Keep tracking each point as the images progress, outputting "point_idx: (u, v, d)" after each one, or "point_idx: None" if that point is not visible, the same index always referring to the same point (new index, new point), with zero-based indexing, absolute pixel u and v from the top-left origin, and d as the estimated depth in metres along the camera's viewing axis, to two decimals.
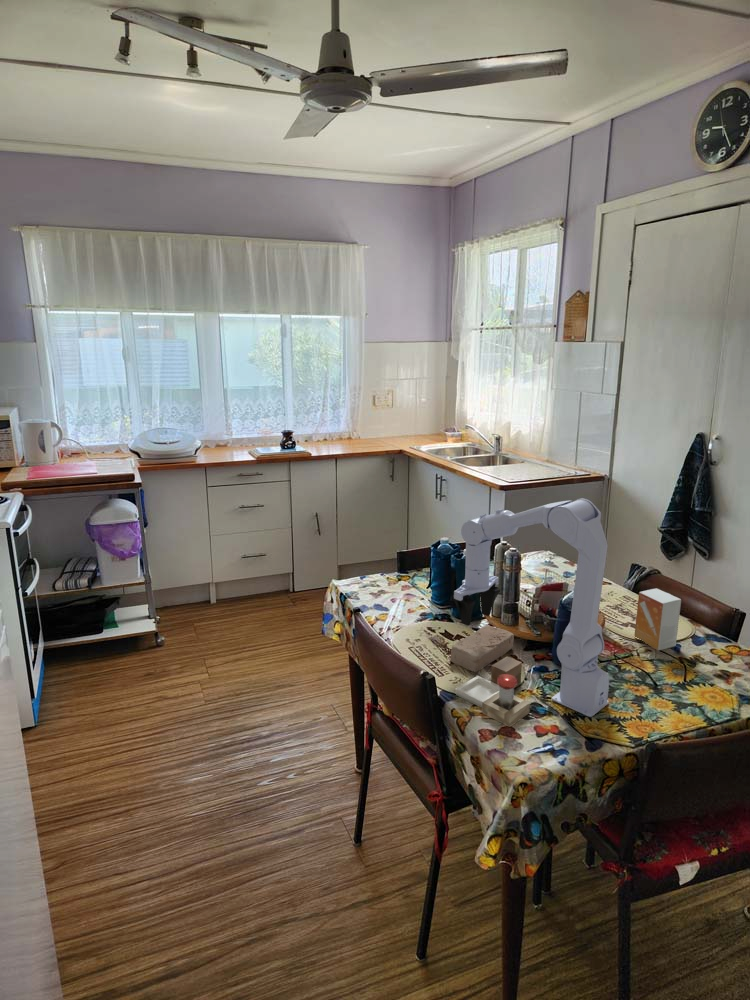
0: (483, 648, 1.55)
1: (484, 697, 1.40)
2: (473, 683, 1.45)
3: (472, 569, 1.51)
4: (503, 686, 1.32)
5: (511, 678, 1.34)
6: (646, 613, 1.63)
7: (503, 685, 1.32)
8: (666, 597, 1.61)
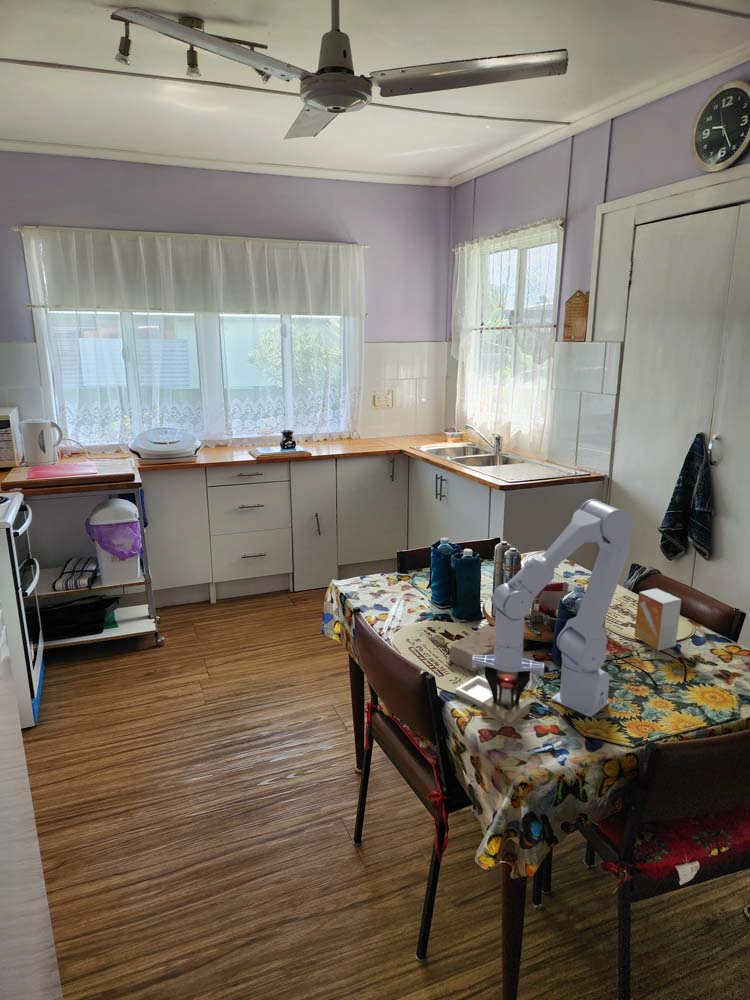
0: (482, 648, 1.55)
1: (484, 697, 1.40)
2: (473, 683, 1.45)
3: (518, 646, 1.29)
4: (503, 686, 1.32)
5: (511, 677, 1.34)
6: (646, 613, 1.63)
7: (503, 685, 1.32)
8: (666, 597, 1.61)
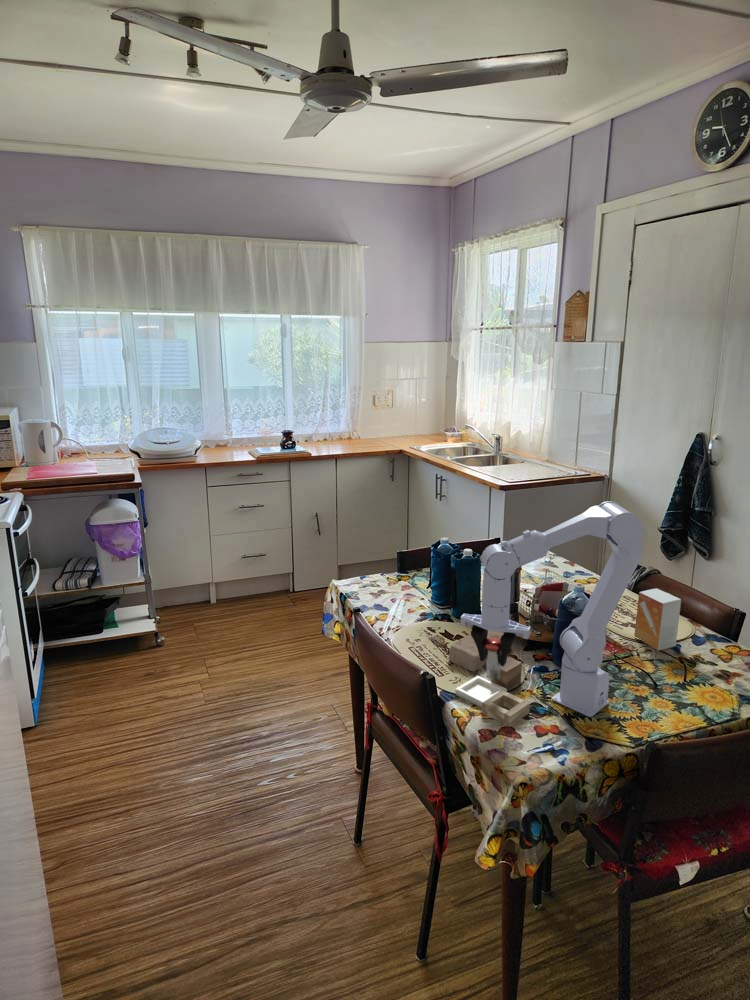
0: None
1: (484, 697, 1.40)
2: (473, 683, 1.45)
3: (501, 606, 1.30)
4: (488, 648, 1.34)
5: (498, 641, 1.35)
6: (646, 613, 1.63)
7: (488, 646, 1.34)
8: (666, 597, 1.61)
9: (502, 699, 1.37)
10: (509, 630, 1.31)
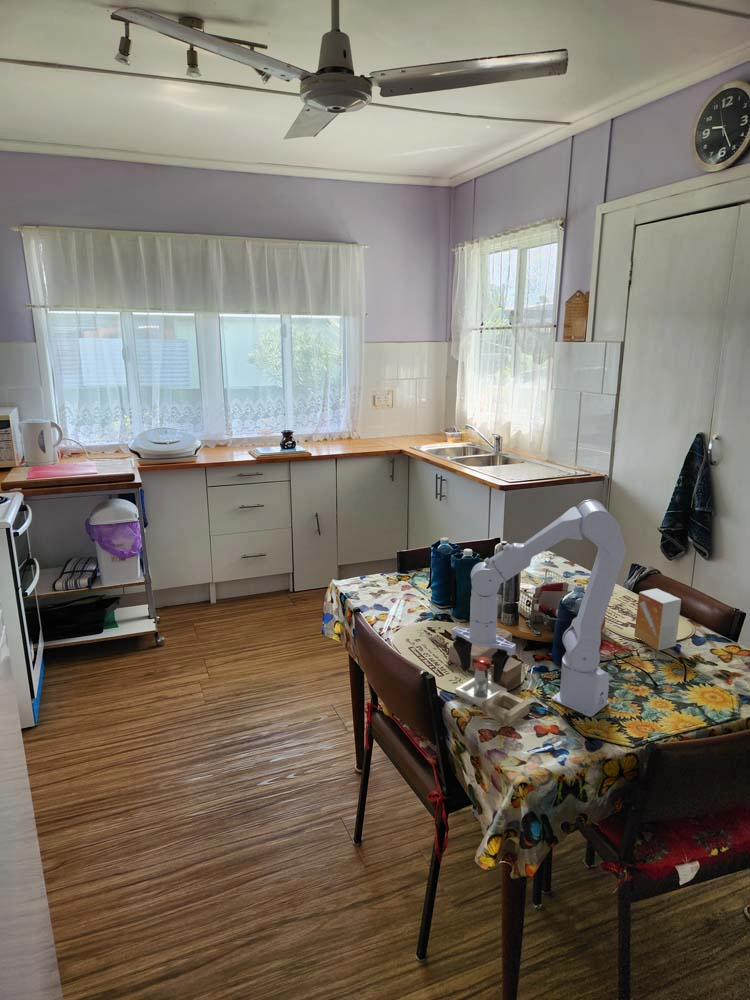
0: (481, 647, 1.55)
1: (484, 697, 1.40)
2: (473, 683, 1.45)
3: (487, 622, 1.35)
4: (475, 666, 1.39)
5: (487, 660, 1.40)
6: (646, 613, 1.63)
7: (475, 665, 1.39)
8: (666, 597, 1.61)
9: (502, 699, 1.37)
10: (494, 646, 1.35)
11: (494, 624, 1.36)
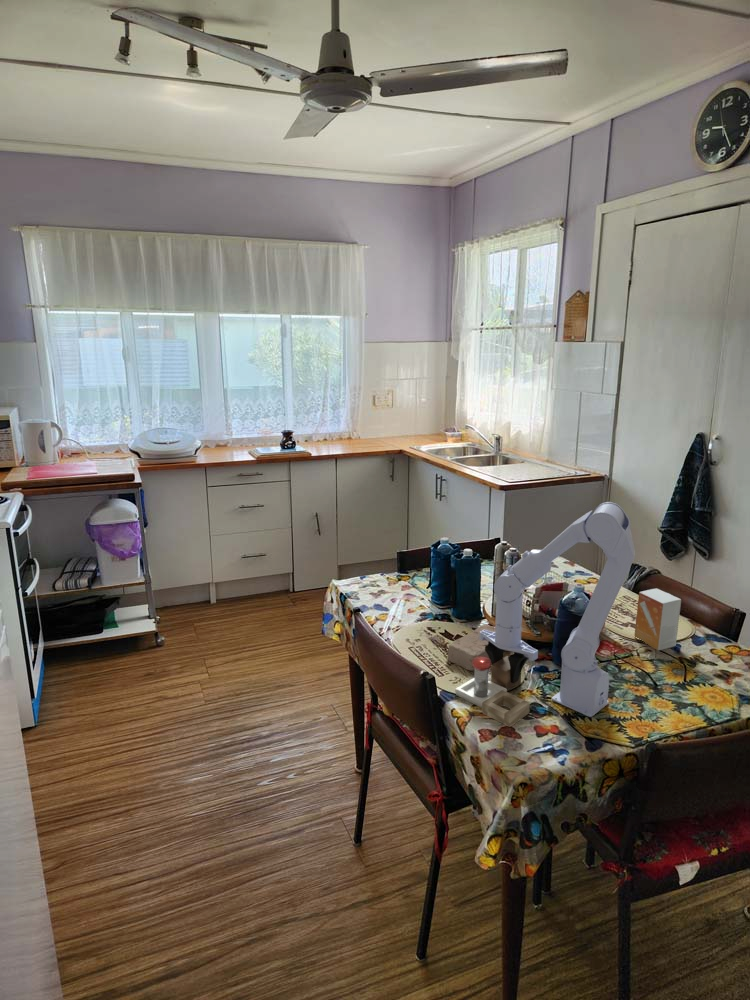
0: (480, 647, 1.56)
1: (484, 697, 1.40)
2: (473, 683, 1.45)
3: (507, 627, 1.40)
4: (475, 666, 1.39)
5: (487, 660, 1.40)
6: (646, 613, 1.63)
7: (475, 665, 1.39)
8: (666, 597, 1.61)
9: (502, 699, 1.37)
10: (516, 650, 1.40)
11: (518, 629, 1.41)
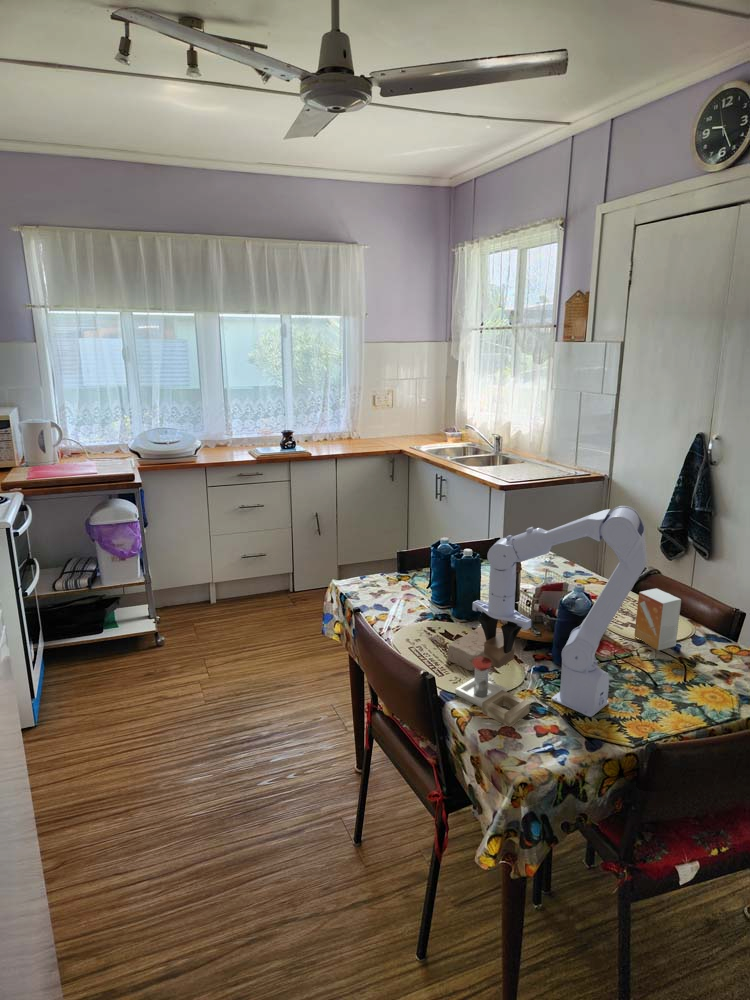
0: (480, 647, 1.56)
1: (484, 697, 1.40)
2: (473, 683, 1.45)
3: (501, 596, 1.39)
4: (475, 666, 1.39)
5: (487, 660, 1.40)
6: (646, 613, 1.63)
7: (475, 665, 1.39)
8: (666, 597, 1.61)
9: (502, 699, 1.37)
10: (509, 619, 1.39)
11: (511, 598, 1.40)
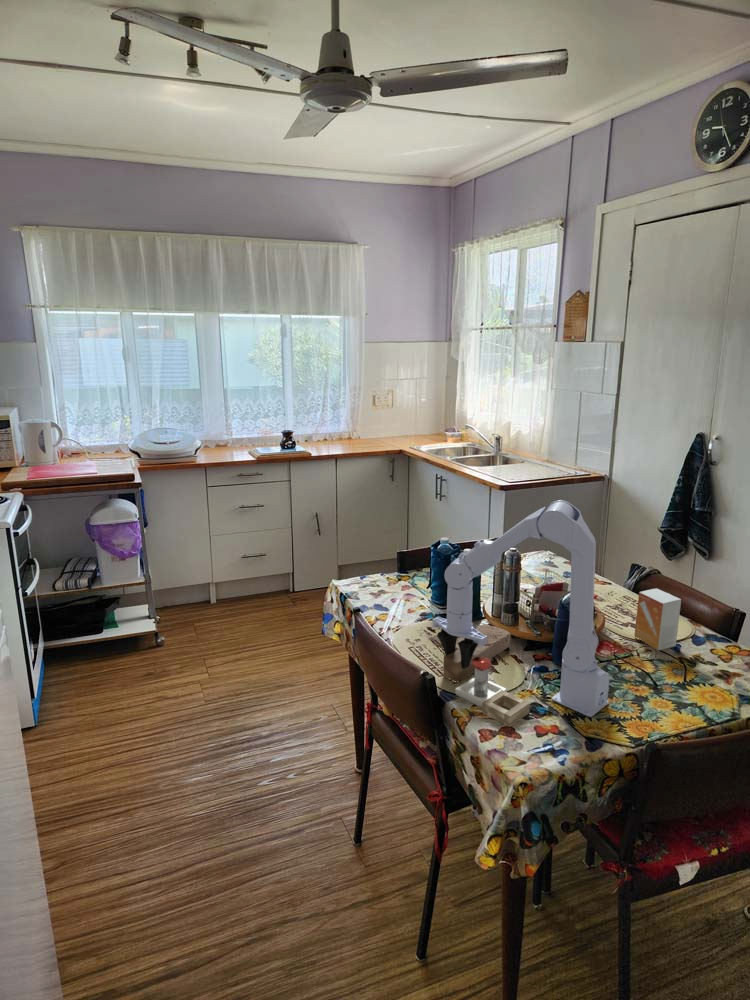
0: (479, 647, 1.56)
1: (484, 697, 1.40)
2: (473, 683, 1.45)
3: (458, 613, 1.44)
4: (475, 666, 1.39)
5: (487, 660, 1.40)
6: (646, 613, 1.63)
7: (475, 665, 1.39)
8: (666, 597, 1.61)
9: (502, 699, 1.37)
10: (466, 636, 1.44)
11: (468, 616, 1.44)
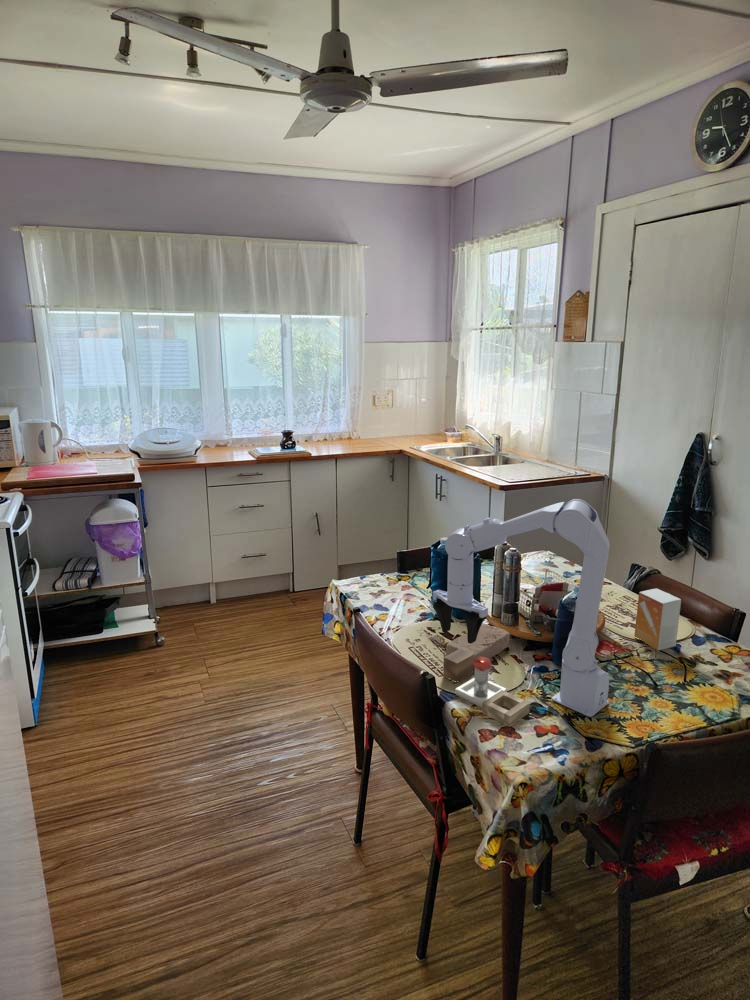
0: (478, 646, 1.56)
1: (484, 697, 1.40)
2: (473, 683, 1.45)
3: (459, 585, 1.42)
4: (475, 666, 1.39)
5: (487, 660, 1.40)
6: (646, 613, 1.63)
7: (475, 665, 1.39)
8: (666, 597, 1.61)
9: (502, 699, 1.37)
10: (467, 608, 1.42)
11: (468, 587, 1.43)
